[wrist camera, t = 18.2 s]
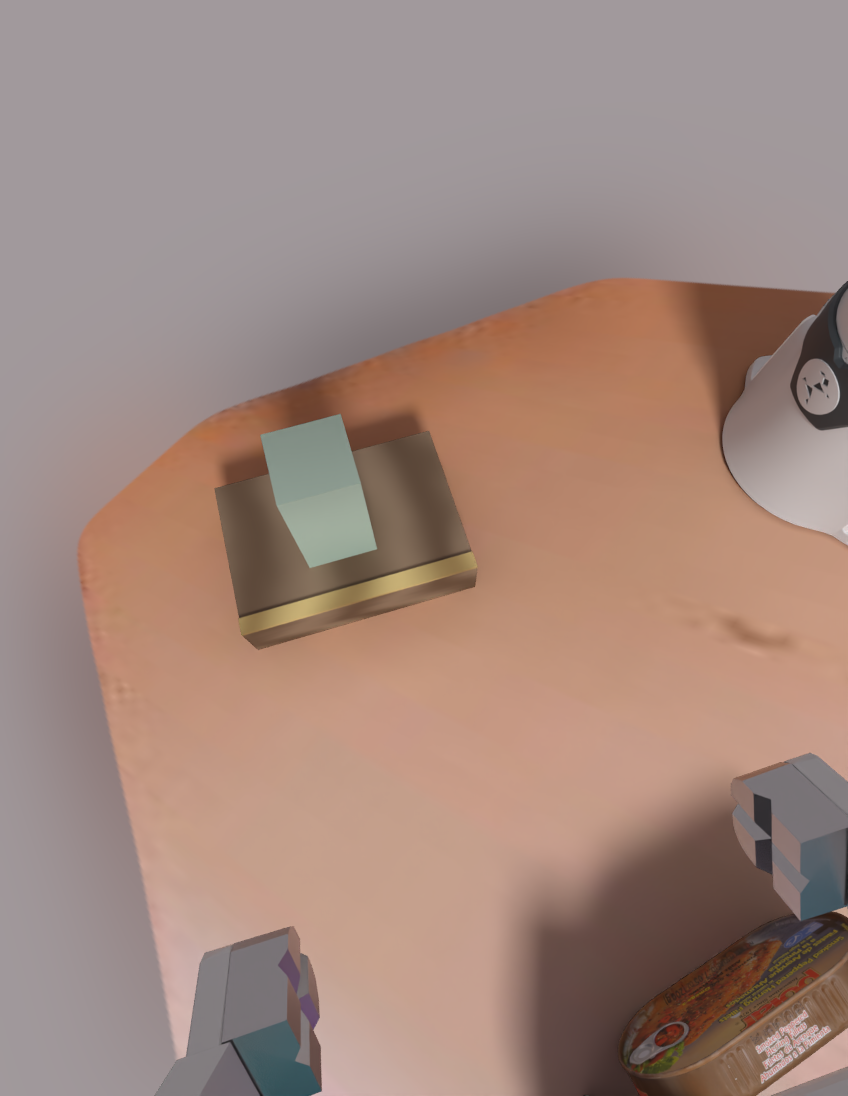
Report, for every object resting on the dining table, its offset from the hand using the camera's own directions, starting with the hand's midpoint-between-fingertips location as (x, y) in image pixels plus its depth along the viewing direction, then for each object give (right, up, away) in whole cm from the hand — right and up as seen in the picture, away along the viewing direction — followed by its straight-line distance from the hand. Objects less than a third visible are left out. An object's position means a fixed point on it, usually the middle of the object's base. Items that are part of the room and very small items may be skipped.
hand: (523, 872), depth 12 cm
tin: (+16, -21, +28) cm, 39 cm away
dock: (-8, +6, +40) cm, 41 cm away
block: (-8, +7, +36) cm, 38 cm away
